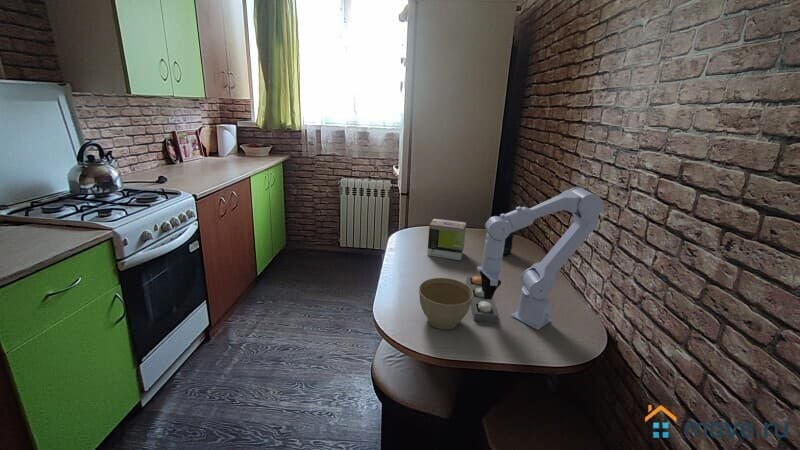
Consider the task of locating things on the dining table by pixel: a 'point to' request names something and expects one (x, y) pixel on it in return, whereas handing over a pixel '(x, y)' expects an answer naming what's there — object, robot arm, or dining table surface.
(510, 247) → the storage jar
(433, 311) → the planter bowl
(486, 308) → the cream button
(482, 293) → the sage button
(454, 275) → the dining table surface
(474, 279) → the orange button
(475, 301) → the button panel
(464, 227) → the tea box
